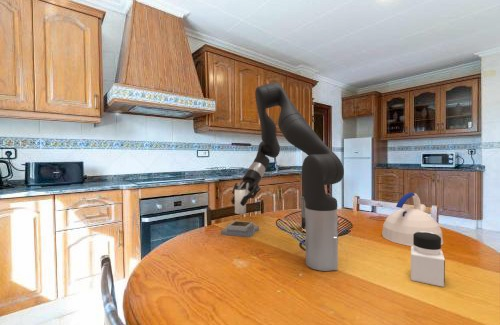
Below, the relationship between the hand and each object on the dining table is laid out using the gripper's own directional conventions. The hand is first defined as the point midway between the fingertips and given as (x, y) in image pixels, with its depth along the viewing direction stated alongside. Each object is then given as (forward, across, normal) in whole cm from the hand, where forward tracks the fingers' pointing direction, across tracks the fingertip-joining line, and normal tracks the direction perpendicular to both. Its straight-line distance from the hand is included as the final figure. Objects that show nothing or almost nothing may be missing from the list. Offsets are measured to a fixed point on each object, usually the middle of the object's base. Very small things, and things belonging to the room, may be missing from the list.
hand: (237, 203), depth 111 cm
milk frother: (-9, +26, +27) cm, 38 cm away
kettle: (-16, +59, +34) cm, 70 cm away
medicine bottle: (+8, +68, +9) cm, 69 cm away
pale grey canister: (+2, 0, +4) cm, 5 cm away
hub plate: (+8, 0, +10) cm, 13 cm away
